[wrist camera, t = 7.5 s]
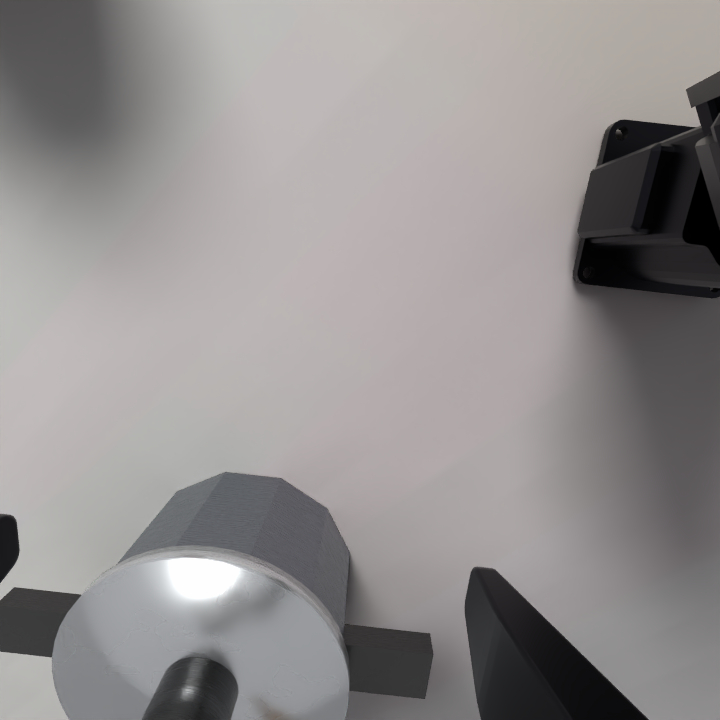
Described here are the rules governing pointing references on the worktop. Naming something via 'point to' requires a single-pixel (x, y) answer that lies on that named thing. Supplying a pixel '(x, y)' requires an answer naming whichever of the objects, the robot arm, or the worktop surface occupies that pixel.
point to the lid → (200, 643)
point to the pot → (264, 541)
